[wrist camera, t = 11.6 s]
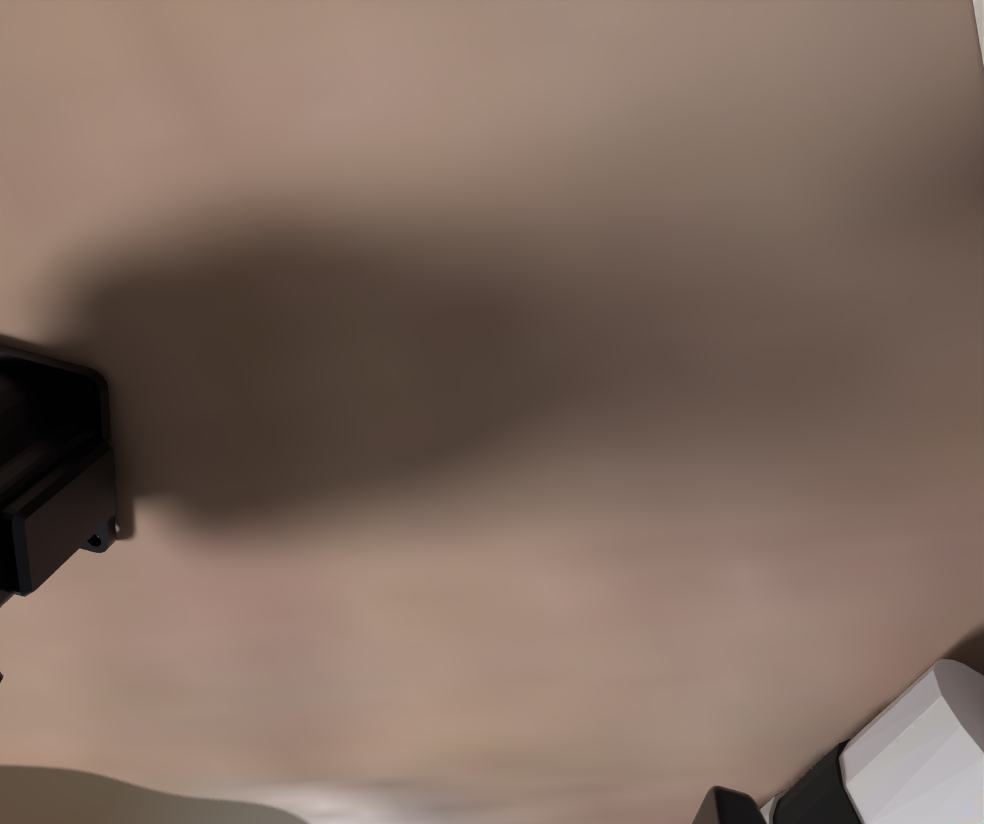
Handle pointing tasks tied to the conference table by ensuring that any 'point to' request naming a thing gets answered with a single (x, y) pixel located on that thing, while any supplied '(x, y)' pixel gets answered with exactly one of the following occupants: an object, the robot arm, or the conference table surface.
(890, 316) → the conference table surface
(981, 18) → the white board with blocks
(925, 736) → the cable
